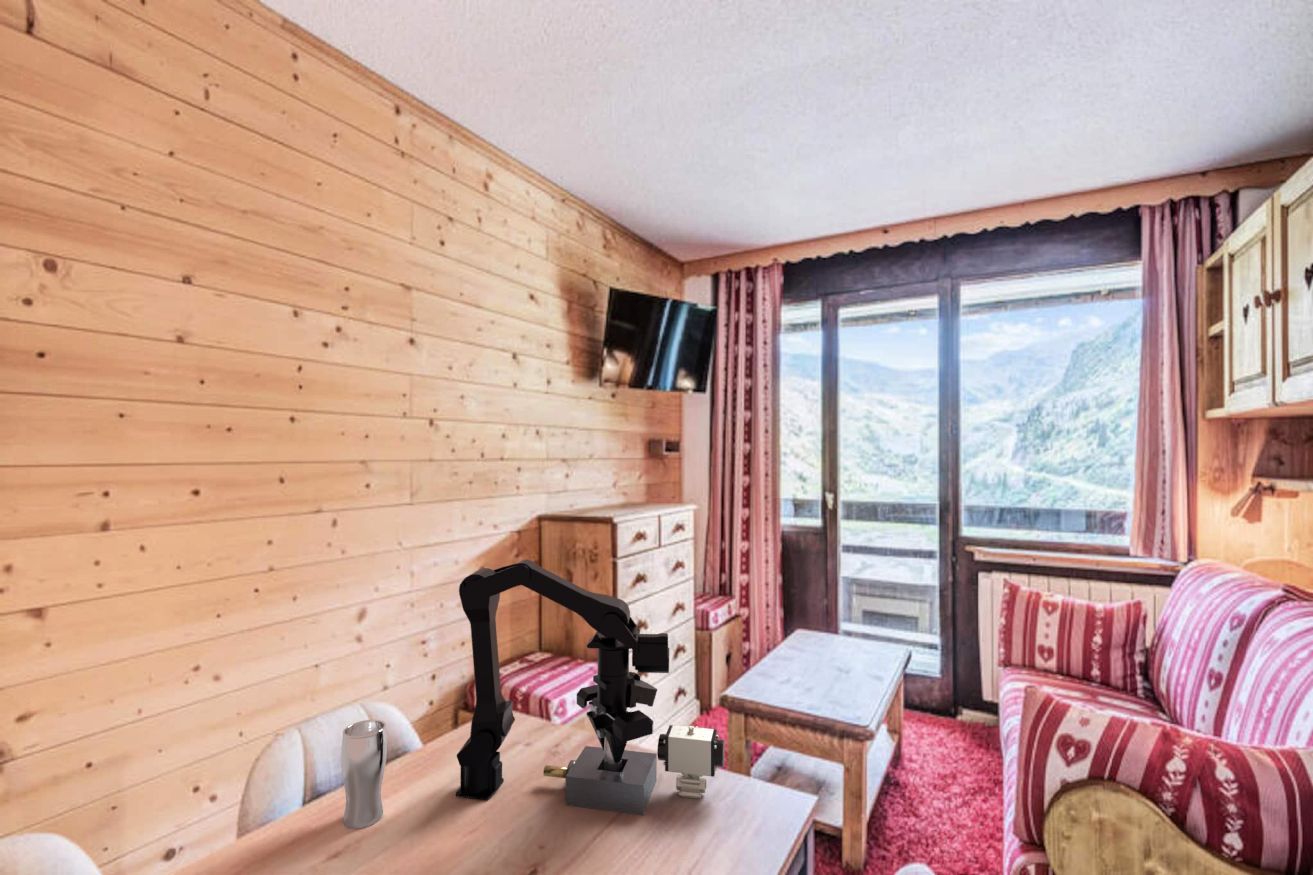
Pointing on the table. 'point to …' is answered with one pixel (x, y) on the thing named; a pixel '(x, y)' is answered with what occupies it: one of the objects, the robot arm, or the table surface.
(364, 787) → the beer glass
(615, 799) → the block
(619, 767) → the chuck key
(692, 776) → the pneumatic valve
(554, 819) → the table surface
